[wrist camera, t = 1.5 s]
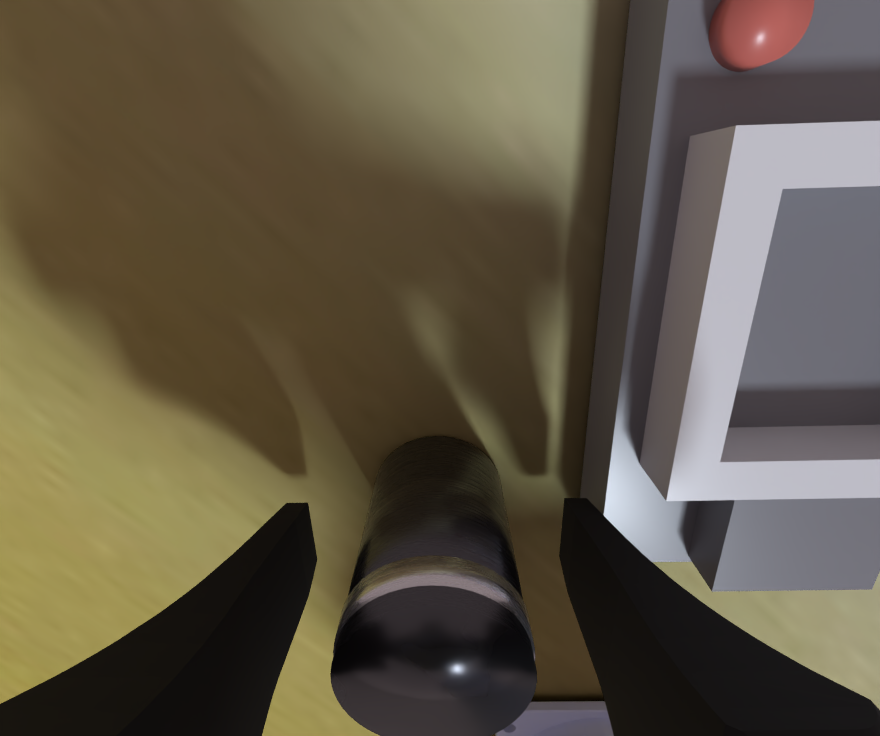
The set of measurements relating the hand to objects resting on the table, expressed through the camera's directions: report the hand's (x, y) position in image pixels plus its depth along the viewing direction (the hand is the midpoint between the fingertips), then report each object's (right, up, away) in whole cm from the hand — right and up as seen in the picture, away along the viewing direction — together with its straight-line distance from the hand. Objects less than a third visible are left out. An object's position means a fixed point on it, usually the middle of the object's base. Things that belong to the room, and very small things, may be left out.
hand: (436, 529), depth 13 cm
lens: (0, +1, +2) cm, 2 cm away
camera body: (+9, +6, -1) cm, 11 cm away
